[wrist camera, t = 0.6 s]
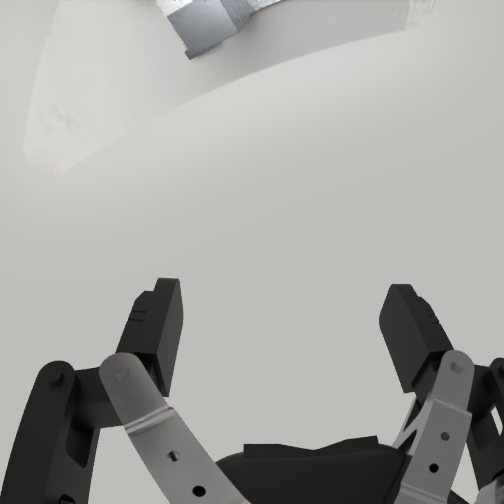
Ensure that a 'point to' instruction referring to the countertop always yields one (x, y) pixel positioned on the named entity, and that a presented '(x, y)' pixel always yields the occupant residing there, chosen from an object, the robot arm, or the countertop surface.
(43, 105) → the countertop surface
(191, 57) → the lever rail
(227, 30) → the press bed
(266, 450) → the robot arm
